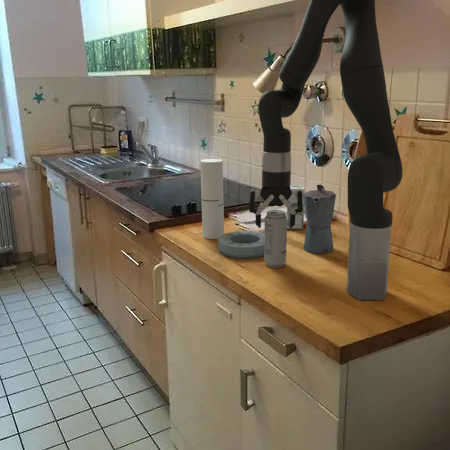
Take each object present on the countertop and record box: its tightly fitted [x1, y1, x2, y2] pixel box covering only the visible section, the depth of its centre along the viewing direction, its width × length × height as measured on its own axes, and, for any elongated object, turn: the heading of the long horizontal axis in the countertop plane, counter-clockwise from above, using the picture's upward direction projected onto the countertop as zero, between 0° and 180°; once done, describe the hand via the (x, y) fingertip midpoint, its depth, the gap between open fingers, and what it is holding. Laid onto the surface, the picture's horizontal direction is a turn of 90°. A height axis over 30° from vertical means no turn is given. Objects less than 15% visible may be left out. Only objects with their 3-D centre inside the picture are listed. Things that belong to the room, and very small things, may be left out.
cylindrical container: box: [200, 158, 225, 240], centre depth 163 cm, size 7×7×25 cm
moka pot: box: [303, 184, 337, 255], centre depth 149 cm, size 10×15×20 cm, turn 166°
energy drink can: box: [263, 209, 288, 269], centre depth 137 cm, size 6×6×15 cm
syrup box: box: [286, 185, 306, 230], centre depth 171 cm, size 6×6×14 cm
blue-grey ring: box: [217, 230, 265, 260], centre depth 151 cm, size 16×16×4 cm
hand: (275, 227), depth 136 cm, fingers open, 8 cm apart
